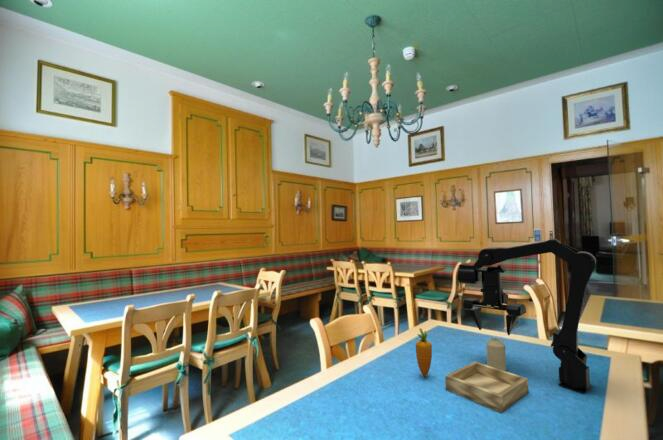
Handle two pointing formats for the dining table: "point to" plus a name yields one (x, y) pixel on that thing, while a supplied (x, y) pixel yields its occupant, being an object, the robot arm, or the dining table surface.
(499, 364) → the candle
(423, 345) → the carrot
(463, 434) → the dining table surface
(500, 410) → the box
